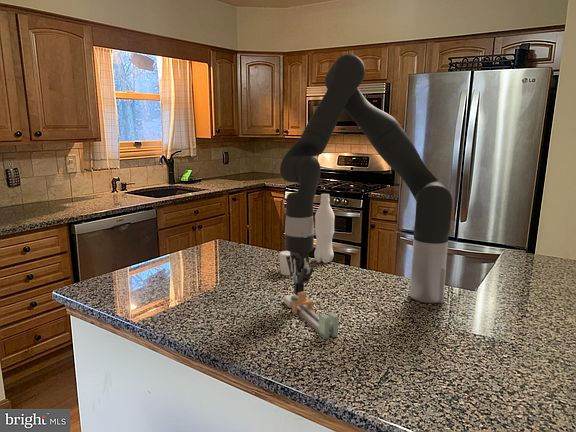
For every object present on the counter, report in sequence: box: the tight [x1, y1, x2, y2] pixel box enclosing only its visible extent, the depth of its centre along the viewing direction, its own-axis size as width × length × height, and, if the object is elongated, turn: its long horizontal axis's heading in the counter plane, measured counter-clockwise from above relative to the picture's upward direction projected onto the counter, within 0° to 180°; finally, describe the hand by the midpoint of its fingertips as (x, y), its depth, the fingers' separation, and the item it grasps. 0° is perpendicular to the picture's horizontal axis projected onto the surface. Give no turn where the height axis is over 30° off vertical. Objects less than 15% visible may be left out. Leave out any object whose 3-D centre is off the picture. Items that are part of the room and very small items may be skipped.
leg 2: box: [299, 304, 339, 338], centre depth 107 cm, size 19×1×5 cm, turn 22°
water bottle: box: [313, 193, 336, 264], centre depth 155 cm, size 7×7×25 cm
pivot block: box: [283, 294, 298, 309], centre depth 118 cm, size 4×4×2 cm
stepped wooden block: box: [291, 290, 314, 315], centre depth 113 cm, size 2×5×5 cm, turn 113°
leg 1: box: [297, 306, 330, 340], centre depth 106 cm, size 19×1×5 cm, turn 23°
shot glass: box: [278, 250, 291, 276], centre depth 144 cm, size 7×7×7 cm
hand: (298, 294), depth 115 cm, fingers closed
